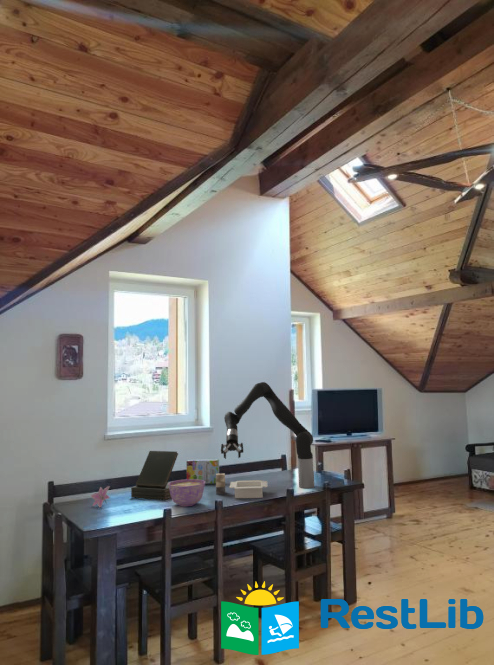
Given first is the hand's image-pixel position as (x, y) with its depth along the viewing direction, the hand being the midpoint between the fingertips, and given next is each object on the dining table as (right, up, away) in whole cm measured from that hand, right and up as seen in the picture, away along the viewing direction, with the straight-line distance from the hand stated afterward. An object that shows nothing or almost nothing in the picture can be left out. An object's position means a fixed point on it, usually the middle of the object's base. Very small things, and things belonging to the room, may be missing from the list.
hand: (232, 457), depth 298 cm
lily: (-71, -16, -38) cm, 82 cm away
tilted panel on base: (-44, -18, -17) cm, 50 cm away
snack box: (-20, -21, +16) cm, 33 cm away
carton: (+10, -16, -23) cm, 29 cm away
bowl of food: (-23, -14, -42) cm, 50 cm away
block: (-6, -17, -16) cm, 24 cm away
